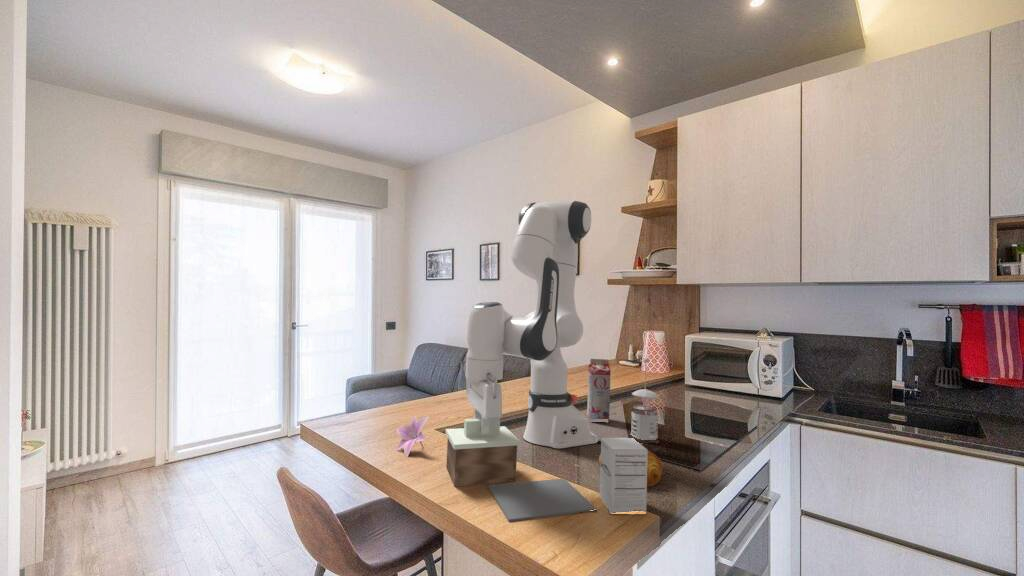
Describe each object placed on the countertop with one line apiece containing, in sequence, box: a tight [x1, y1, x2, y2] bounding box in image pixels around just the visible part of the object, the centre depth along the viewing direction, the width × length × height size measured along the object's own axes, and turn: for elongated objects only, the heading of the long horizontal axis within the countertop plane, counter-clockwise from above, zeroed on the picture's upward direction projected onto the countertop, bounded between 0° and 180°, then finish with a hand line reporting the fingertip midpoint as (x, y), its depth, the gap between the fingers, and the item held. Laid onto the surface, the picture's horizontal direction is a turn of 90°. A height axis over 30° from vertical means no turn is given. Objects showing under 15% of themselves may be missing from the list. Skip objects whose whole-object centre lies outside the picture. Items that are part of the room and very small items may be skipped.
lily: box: [395, 414, 429, 458], centre depth 112 cm, size 11×11×9 cm
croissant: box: [597, 449, 664, 487], centre depth 101 cm, size 14×16×8 cm
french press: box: [630, 358, 660, 440], centre depth 131 cm, size 10×12×25 cm
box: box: [445, 438, 518, 487], centre depth 97 cm, size 14×11×8 cm
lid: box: [445, 418, 521, 450], centre depth 98 cm, size 15×12×6 cm
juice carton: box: [586, 358, 611, 420], centre depth 151 cm, size 7×7×22 cm
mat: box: [487, 477, 598, 522], centre depth 86 cm, size 18×15×1 cm
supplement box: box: [599, 437, 648, 513], centre depth 84 cm, size 7×7×13 cm
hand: (481, 429), depth 98 cm, fingers open, 4 cm apart
